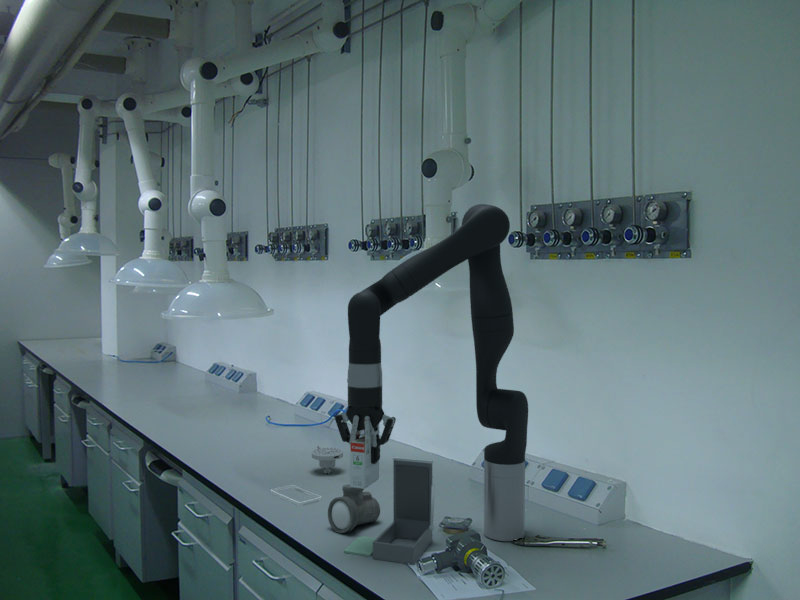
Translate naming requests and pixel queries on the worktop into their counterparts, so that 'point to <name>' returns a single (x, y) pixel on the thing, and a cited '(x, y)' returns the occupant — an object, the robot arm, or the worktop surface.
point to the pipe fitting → (352, 509)
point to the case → (409, 512)
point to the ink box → (363, 461)
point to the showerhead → (327, 457)
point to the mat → (361, 546)
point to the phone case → (273, 491)
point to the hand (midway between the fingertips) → (365, 461)
